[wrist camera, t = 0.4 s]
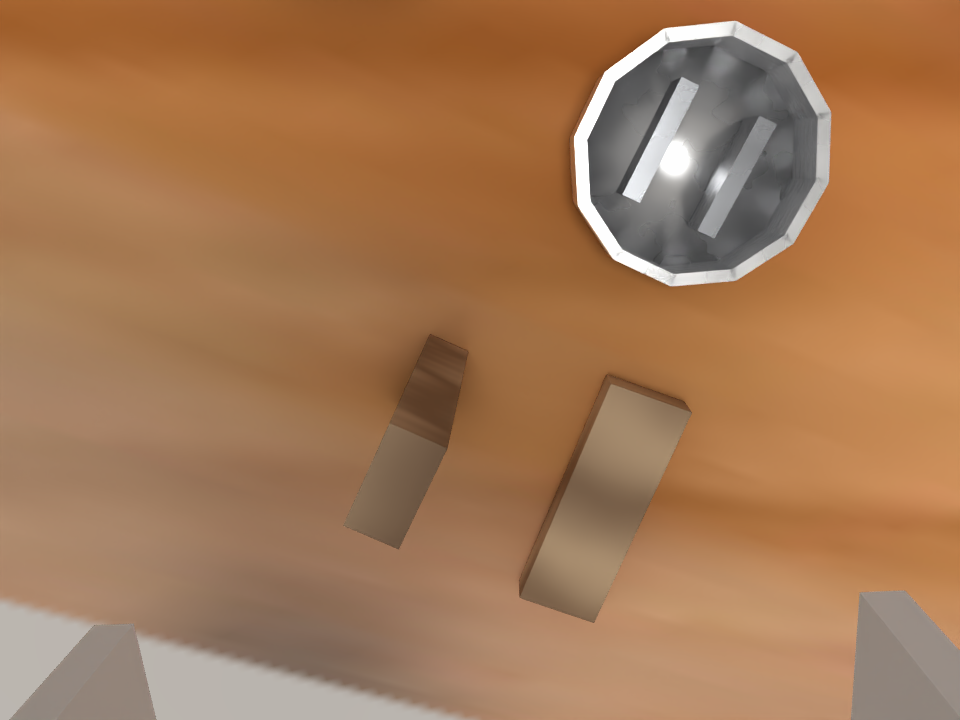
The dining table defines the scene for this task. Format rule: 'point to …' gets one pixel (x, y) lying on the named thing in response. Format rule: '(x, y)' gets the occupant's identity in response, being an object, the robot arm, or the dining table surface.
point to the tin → (701, 153)
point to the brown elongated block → (411, 446)
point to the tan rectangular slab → (602, 497)
